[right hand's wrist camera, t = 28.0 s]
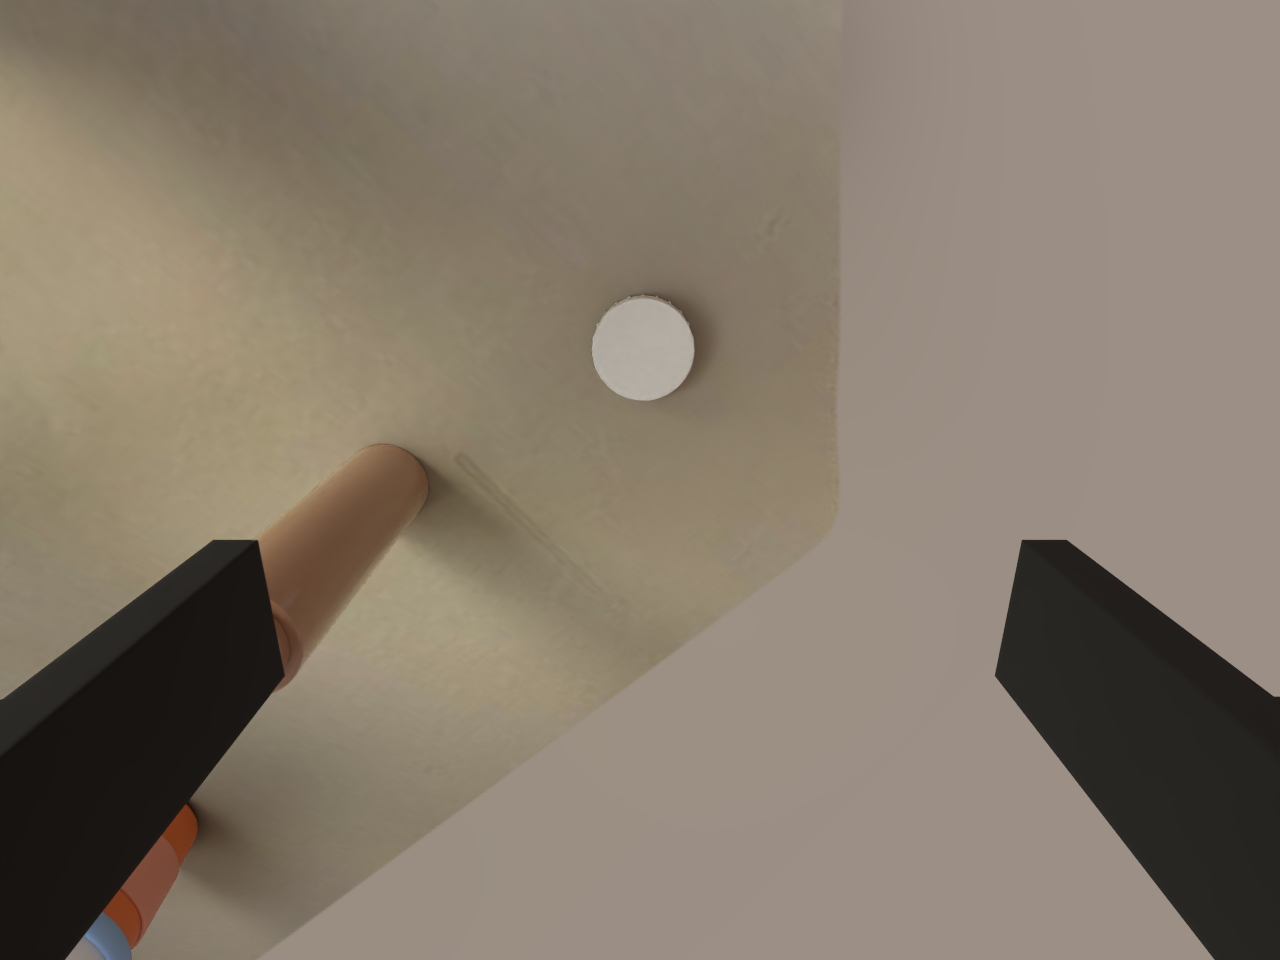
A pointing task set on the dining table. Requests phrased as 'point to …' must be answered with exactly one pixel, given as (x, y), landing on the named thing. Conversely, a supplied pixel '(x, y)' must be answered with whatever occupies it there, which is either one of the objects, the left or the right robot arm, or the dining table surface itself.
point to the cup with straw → (139, 895)
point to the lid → (643, 348)
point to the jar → (336, 545)
